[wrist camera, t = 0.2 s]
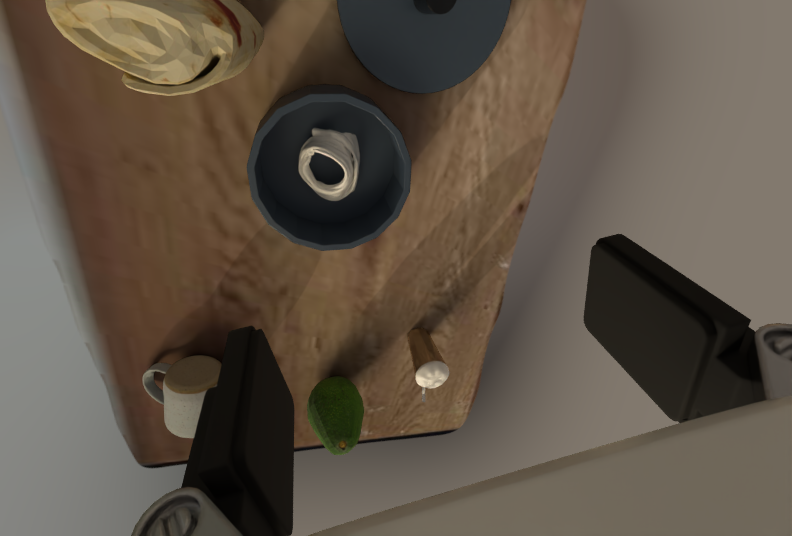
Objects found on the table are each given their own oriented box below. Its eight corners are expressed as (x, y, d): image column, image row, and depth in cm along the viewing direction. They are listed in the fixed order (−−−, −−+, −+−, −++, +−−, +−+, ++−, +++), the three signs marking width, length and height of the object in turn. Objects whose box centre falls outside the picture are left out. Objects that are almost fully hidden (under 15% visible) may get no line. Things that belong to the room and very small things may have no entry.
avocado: (369, 378, 64) (382, 445, 54) (334, 407, 66) (341, 478, 56) (330, 354, 60) (337, 423, 50) (295, 387, 62) (294, 458, 52)
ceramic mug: (229, 350, 56) (219, 393, 49) (231, 393, 60) (222, 438, 53) (142, 350, 53) (119, 396, 47) (150, 395, 57) (130, 443, 51)
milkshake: (394, 346, 62) (409, 397, 53) (413, 319, 60) (432, 369, 51) (419, 354, 63) (437, 405, 55) (438, 328, 62) (460, 378, 53)
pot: (222, 165, 44) (212, 184, 39) (322, 47, 40) (325, 51, 35) (334, 250, 51) (338, 275, 46) (426, 158, 48) (441, 175, 43)
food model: (269, -2, 37) (245, -16, 20) (264, 77, 40) (240, 122, 23) (146, -35, 34) (2, -82, 18) (151, 53, 37) (32, 85, 21)
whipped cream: (358, 191, 49) (368, 210, 45) (300, 197, 47) (305, 217, 43) (357, 122, 44) (368, 137, 40) (292, 125, 42) (297, 140, 38)
